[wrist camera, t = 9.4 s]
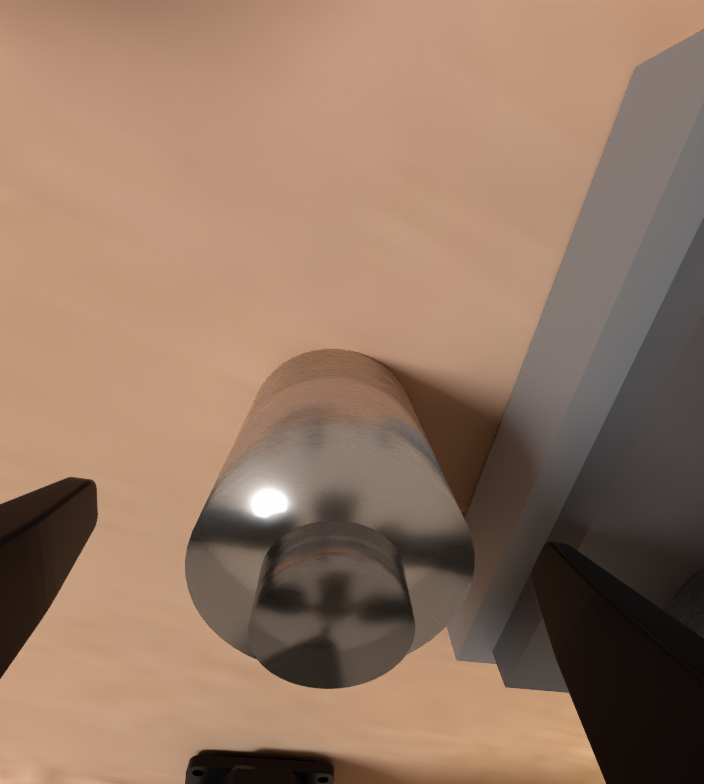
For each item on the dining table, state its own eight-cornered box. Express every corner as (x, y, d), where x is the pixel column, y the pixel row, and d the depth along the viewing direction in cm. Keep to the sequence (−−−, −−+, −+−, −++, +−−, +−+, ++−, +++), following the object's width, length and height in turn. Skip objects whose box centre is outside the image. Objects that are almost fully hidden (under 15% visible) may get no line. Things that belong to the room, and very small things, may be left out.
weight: (390, 502, 13) (444, 744, 7) (243, 481, 12) (154, 724, 6) (430, 365, 11) (549, 524, 5) (261, 334, 11) (164, 469, 4)
